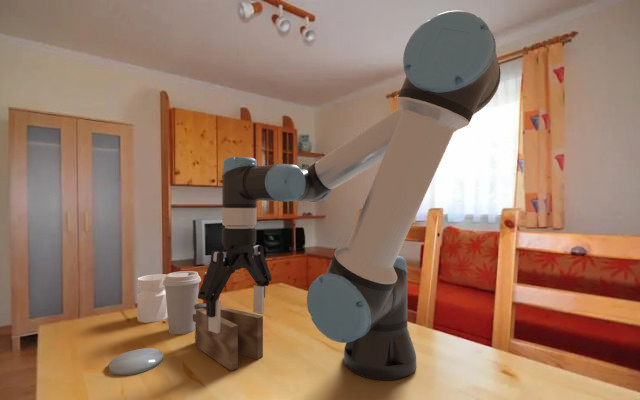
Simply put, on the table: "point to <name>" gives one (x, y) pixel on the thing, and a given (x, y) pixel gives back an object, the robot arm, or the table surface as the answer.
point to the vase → (151, 298)
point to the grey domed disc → (135, 361)
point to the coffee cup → (181, 300)
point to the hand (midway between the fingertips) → (238, 321)
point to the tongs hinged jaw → (217, 340)
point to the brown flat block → (244, 330)
